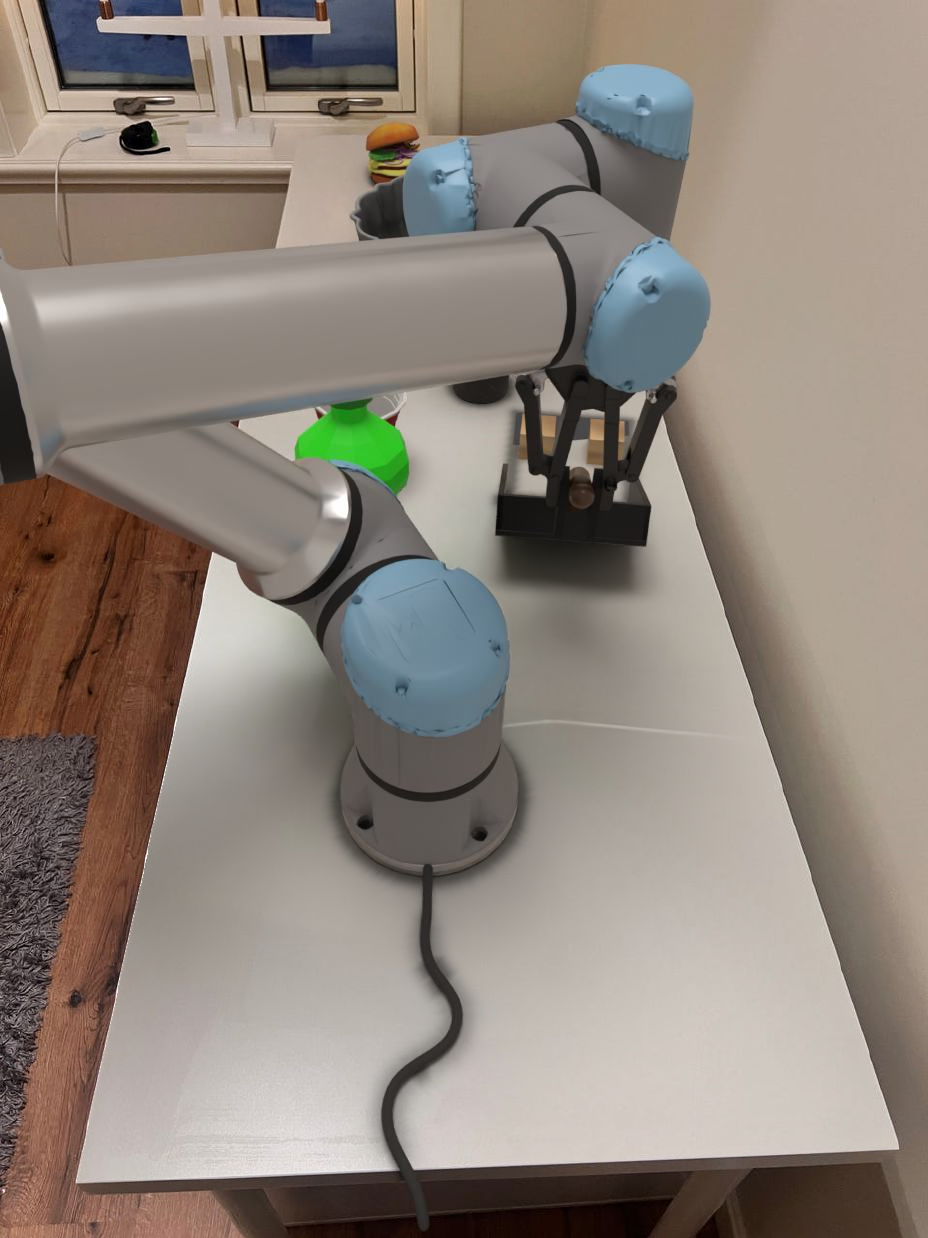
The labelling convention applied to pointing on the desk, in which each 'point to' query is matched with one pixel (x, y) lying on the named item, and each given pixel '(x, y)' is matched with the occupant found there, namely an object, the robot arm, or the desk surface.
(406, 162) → the cheeseburger
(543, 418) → the block
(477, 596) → the robot arm
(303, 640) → the desk surface
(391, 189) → the bundt pan
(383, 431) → the plastic bottle
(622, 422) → the block
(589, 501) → the pan
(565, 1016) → the desk surface
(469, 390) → the travel mug
